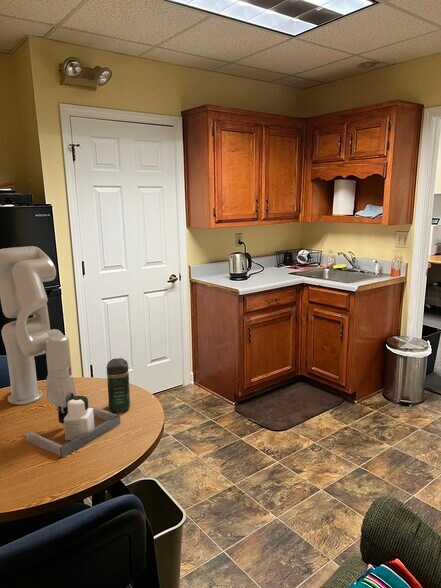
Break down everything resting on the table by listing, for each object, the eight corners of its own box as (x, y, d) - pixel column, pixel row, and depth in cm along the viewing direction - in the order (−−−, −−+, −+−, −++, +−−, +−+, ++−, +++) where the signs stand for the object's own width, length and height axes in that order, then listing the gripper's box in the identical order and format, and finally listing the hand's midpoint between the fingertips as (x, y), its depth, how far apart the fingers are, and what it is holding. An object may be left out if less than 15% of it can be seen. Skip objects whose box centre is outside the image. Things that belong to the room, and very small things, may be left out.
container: (72, 428, 154) (69, 393, 151) (94, 428, 154) (92, 393, 151) (65, 440, 146) (61, 403, 143) (88, 440, 146) (85, 403, 143)
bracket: (26, 440, 146) (25, 432, 146) (85, 410, 166) (84, 403, 166) (63, 457, 137) (62, 448, 136) (120, 423, 157) (120, 415, 156)
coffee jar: (130, 412, 165) (127, 364, 161) (108, 414, 163) (105, 366, 159) (130, 400, 174) (127, 355, 170) (109, 402, 172) (106, 357, 168)
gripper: (36, 370, 151) (41, 420, 155) (65, 380, 143) (69, 432, 147) (54, 363, 157) (59, 411, 161) (83, 372, 149) (87, 422, 153)
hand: (64, 421), depth 154 cm, fingers closed
